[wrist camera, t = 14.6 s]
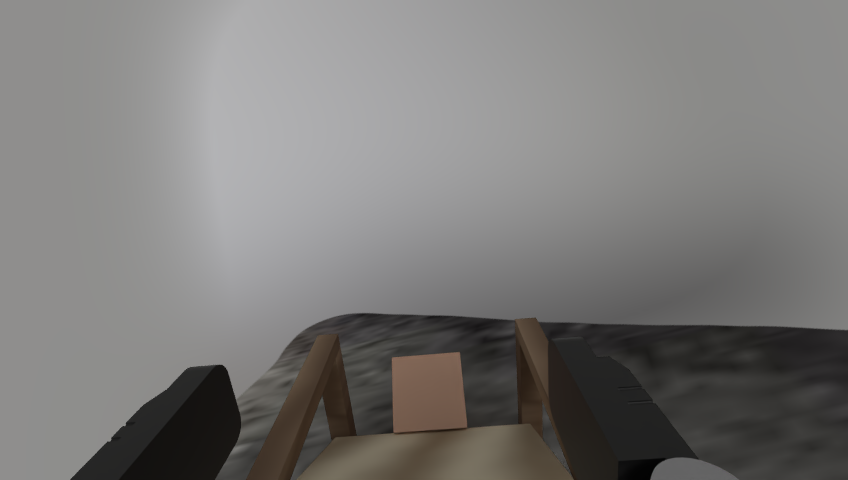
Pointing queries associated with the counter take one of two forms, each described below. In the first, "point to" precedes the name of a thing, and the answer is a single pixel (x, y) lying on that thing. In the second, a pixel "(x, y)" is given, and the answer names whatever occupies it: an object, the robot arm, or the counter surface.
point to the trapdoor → (440, 456)
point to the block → (428, 393)
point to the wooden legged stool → (329, 380)
